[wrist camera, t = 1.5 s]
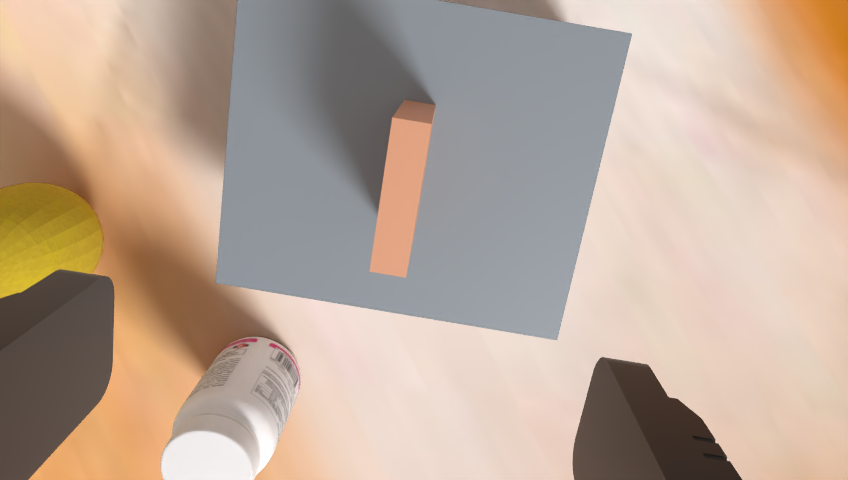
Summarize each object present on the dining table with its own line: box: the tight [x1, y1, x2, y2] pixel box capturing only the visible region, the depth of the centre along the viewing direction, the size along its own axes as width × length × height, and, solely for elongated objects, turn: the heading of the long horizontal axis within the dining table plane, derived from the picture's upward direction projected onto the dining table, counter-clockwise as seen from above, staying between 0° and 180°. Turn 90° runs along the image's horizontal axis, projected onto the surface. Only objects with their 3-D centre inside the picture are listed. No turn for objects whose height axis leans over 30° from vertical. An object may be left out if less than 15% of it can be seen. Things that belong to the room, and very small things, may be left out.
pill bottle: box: [161, 337, 301, 480], centre depth 33 cm, size 5×5×8 cm
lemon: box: [0, 183, 104, 298], centre depth 31 cm, size 6×6×8 cm
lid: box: [216, 0, 632, 340], centre depth 25 cm, size 14×12×8 cm
